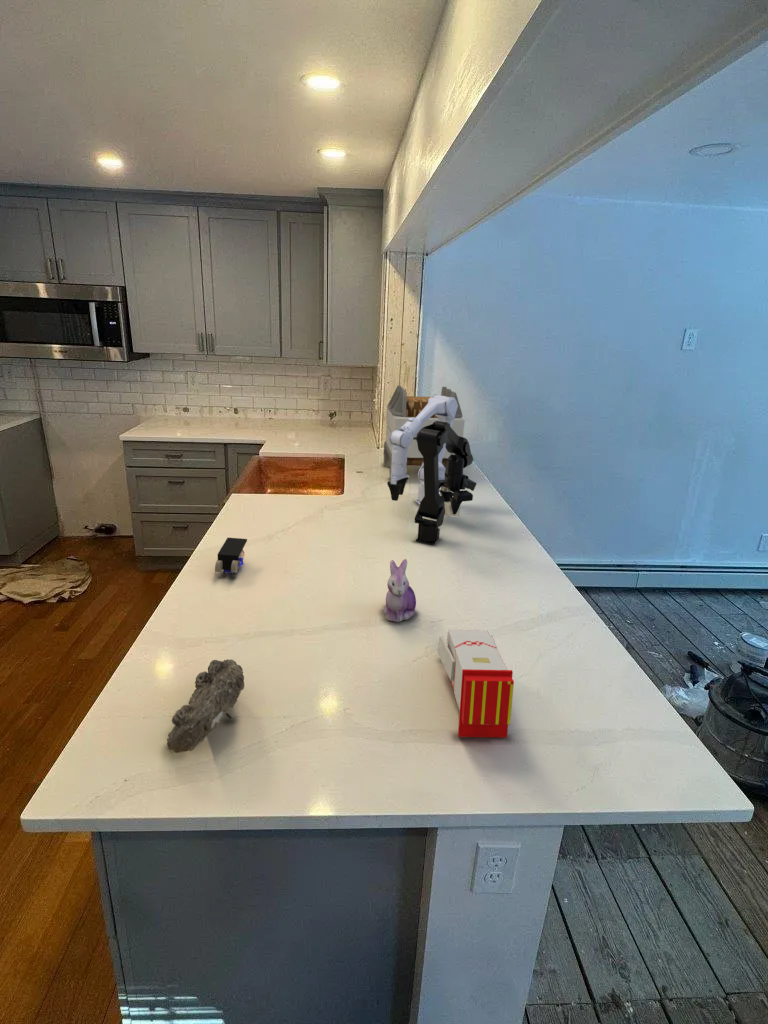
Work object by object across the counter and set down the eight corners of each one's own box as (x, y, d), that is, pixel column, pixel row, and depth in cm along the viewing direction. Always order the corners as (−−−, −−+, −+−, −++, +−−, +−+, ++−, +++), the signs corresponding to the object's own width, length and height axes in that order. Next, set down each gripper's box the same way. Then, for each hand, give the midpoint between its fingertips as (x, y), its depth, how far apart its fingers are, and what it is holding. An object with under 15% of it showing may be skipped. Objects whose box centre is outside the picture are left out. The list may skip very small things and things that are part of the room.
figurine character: (238, 584, 162) (249, 557, 175) (236, 562, 158) (247, 536, 172) (215, 584, 161) (227, 556, 175) (212, 561, 158) (225, 535, 171)
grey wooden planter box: (382, 463, 289) (386, 382, 275) (445, 464, 293) (451, 384, 279) (390, 482, 257) (394, 392, 243) (460, 483, 261) (468, 394, 247)
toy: (488, 613, 130) (523, 677, 101) (484, 667, 133) (517, 744, 104) (435, 612, 130) (455, 676, 101) (432, 666, 133) (451, 743, 103)
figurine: (392, 627, 141) (395, 572, 136) (374, 608, 149) (376, 556, 144) (425, 619, 145) (429, 566, 140) (405, 601, 154) (408, 550, 149)
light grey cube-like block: (459, 516, 210) (460, 504, 208) (448, 517, 208) (449, 505, 207) (453, 512, 214) (454, 500, 212) (443, 513, 212) (444, 501, 211)
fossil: (192, 660, 117) (244, 628, 112) (224, 691, 120) (276, 661, 115) (142, 746, 98) (202, 712, 93) (182, 779, 101) (242, 748, 96)
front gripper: (487, 477, 200) (483, 518, 206) (462, 463, 217) (458, 502, 222) (460, 479, 196) (456, 521, 202) (436, 465, 213) (432, 504, 218)
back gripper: (404, 468, 203) (402, 504, 208) (414, 459, 217) (411, 493, 221) (386, 466, 205) (384, 502, 210) (396, 457, 218) (394, 490, 223)
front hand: (451, 512), depth 211 cm, fingers closed on light grey cube-like block, 4 cm apart
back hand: (397, 497), depth 216 cm, fingers open, 7 cm apart
